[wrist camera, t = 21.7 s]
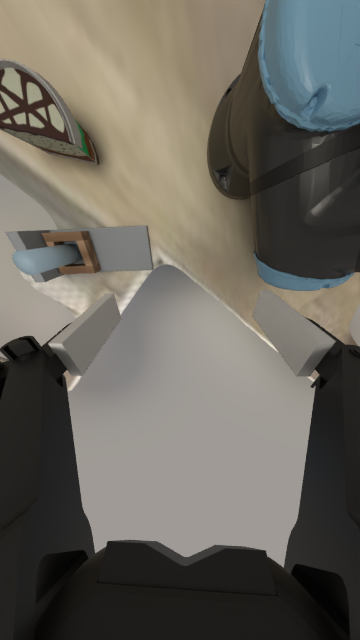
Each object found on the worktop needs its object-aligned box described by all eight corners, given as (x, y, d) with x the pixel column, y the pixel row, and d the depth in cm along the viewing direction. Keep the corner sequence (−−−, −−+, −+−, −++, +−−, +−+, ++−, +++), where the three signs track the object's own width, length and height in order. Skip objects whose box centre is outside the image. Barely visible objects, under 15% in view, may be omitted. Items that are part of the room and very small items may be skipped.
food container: (102, 117, 25) (61, 64, 17) (106, 166, 29) (74, 142, 20) (29, 99, 25) (-51, 35, 16) (42, 152, 28) (-19, 121, 20)
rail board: (43, 230, 35) (4, 231, 28) (147, 225, 34) (136, 225, 27) (62, 271, 41) (35, 282, 33) (153, 268, 40) (145, 279, 32)
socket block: (51, 232, 34) (41, 233, 32) (87, 230, 34) (80, 231, 31) (69, 270, 39) (61, 273, 37) (100, 269, 39) (95, 272, 36)
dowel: (65, 243, 36) (7, 251, 24) (80, 242, 36) (29, 250, 24) (72, 260, 38) (22, 275, 26) (87, 259, 38) (42, 274, 26)
